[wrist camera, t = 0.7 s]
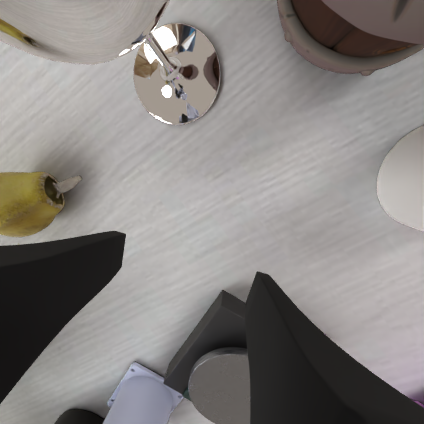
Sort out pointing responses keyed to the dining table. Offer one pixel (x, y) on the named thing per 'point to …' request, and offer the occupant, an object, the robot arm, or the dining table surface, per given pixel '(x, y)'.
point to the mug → (79, 417)
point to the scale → (208, 339)
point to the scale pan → (222, 386)
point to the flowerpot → (353, 32)
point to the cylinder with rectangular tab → (404, 181)
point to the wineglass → (122, 48)
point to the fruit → (30, 201)
